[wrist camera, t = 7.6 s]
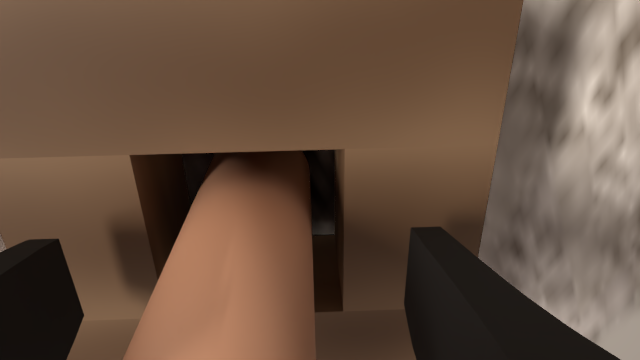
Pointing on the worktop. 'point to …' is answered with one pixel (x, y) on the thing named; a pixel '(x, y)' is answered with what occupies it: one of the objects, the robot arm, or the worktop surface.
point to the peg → (238, 268)
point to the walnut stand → (249, 138)
